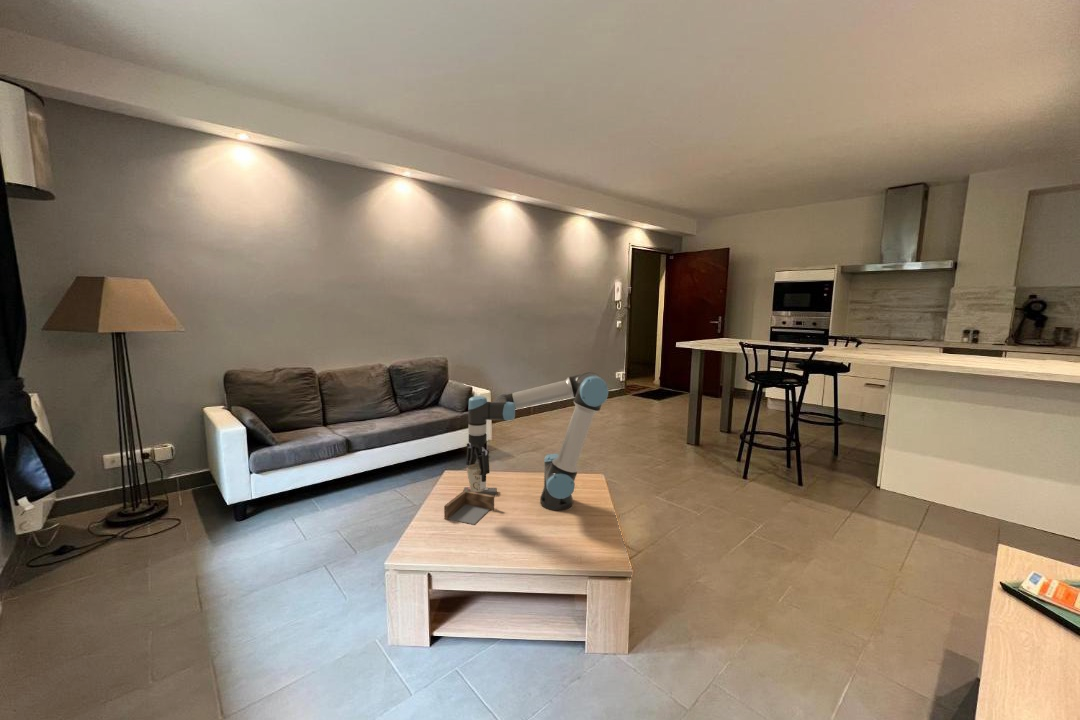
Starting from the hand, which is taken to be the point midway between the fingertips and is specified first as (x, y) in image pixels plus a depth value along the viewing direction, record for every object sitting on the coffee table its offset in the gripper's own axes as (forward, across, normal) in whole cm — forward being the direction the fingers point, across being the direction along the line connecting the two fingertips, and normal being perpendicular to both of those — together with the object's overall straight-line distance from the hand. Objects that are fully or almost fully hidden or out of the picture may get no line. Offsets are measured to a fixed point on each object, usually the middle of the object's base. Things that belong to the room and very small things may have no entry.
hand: (477, 485), depth 181 cm
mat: (+15, +5, +1) cm, 16 cm away
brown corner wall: (+15, +6, 0) cm, 16 cm away
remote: (+15, +20, -14) cm, 29 cm away
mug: (+2, +1, -1) cm, 2 cm away
